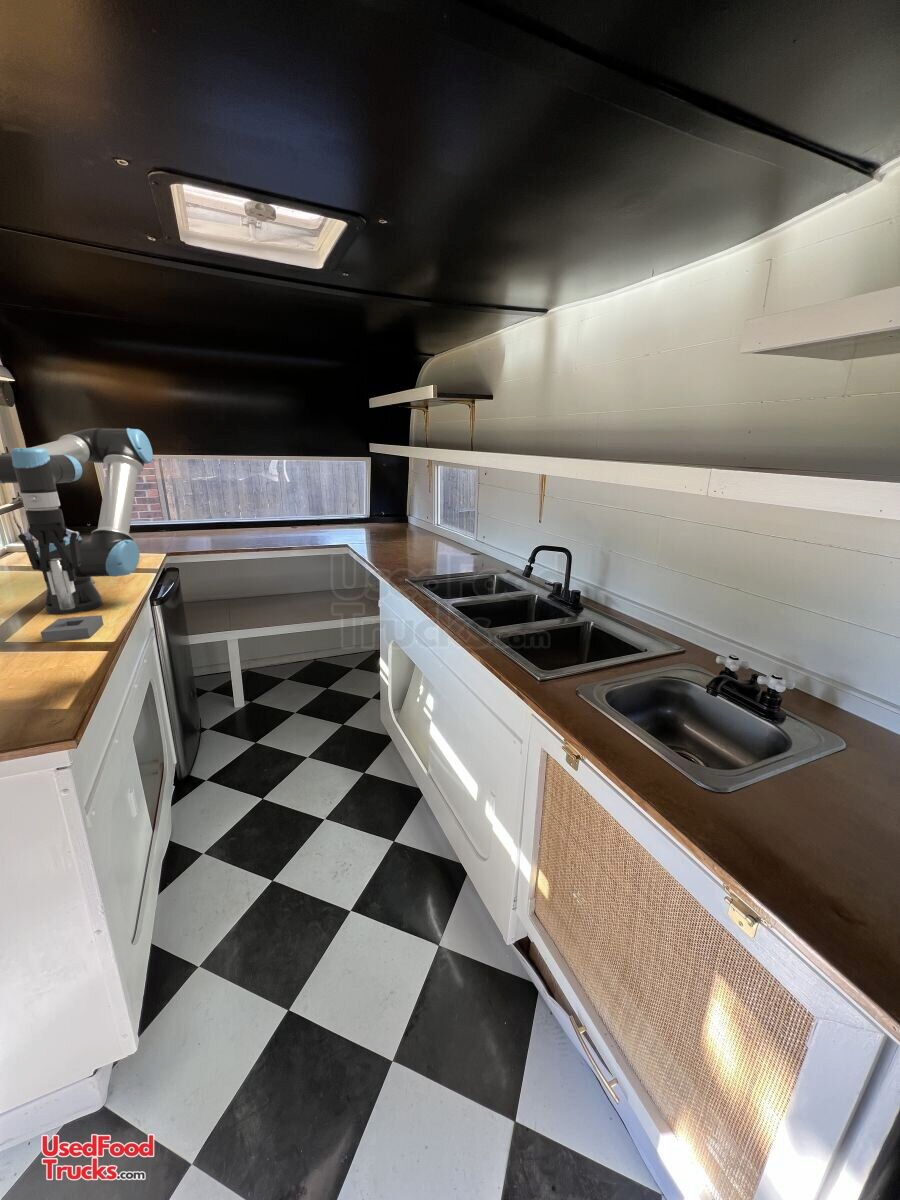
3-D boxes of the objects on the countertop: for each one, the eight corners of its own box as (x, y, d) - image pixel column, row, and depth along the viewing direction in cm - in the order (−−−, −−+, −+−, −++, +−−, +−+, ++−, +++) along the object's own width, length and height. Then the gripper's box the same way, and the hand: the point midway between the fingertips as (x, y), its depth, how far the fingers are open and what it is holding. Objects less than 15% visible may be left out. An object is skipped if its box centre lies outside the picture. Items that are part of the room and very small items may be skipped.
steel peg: (63, 606, 138) (51, 558, 134) (77, 605, 139) (65, 558, 135) (58, 610, 135) (45, 561, 131) (72, 609, 136) (60, 560, 132)
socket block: (60, 628, 143) (58, 618, 142) (103, 624, 146) (101, 615, 145) (43, 642, 133) (40, 632, 132) (89, 638, 136) (87, 628, 135)
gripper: (-2, 511, 123) (22, 599, 130) (72, 509, 127) (92, 594, 135) (14, 507, 130) (36, 591, 137) (84, 506, 134) (102, 587, 141)
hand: (64, 592), depth 136 cm, fingers closed on steel peg, 3 cm apart
